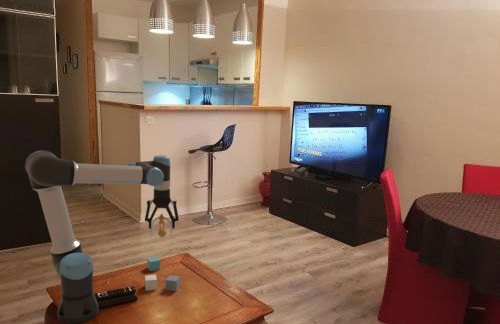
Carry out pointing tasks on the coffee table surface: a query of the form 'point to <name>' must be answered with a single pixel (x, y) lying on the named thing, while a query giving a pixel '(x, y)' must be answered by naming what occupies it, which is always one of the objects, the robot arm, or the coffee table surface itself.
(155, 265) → the cube teal
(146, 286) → the cube offwhite
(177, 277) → the cube slate
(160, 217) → the figurine
